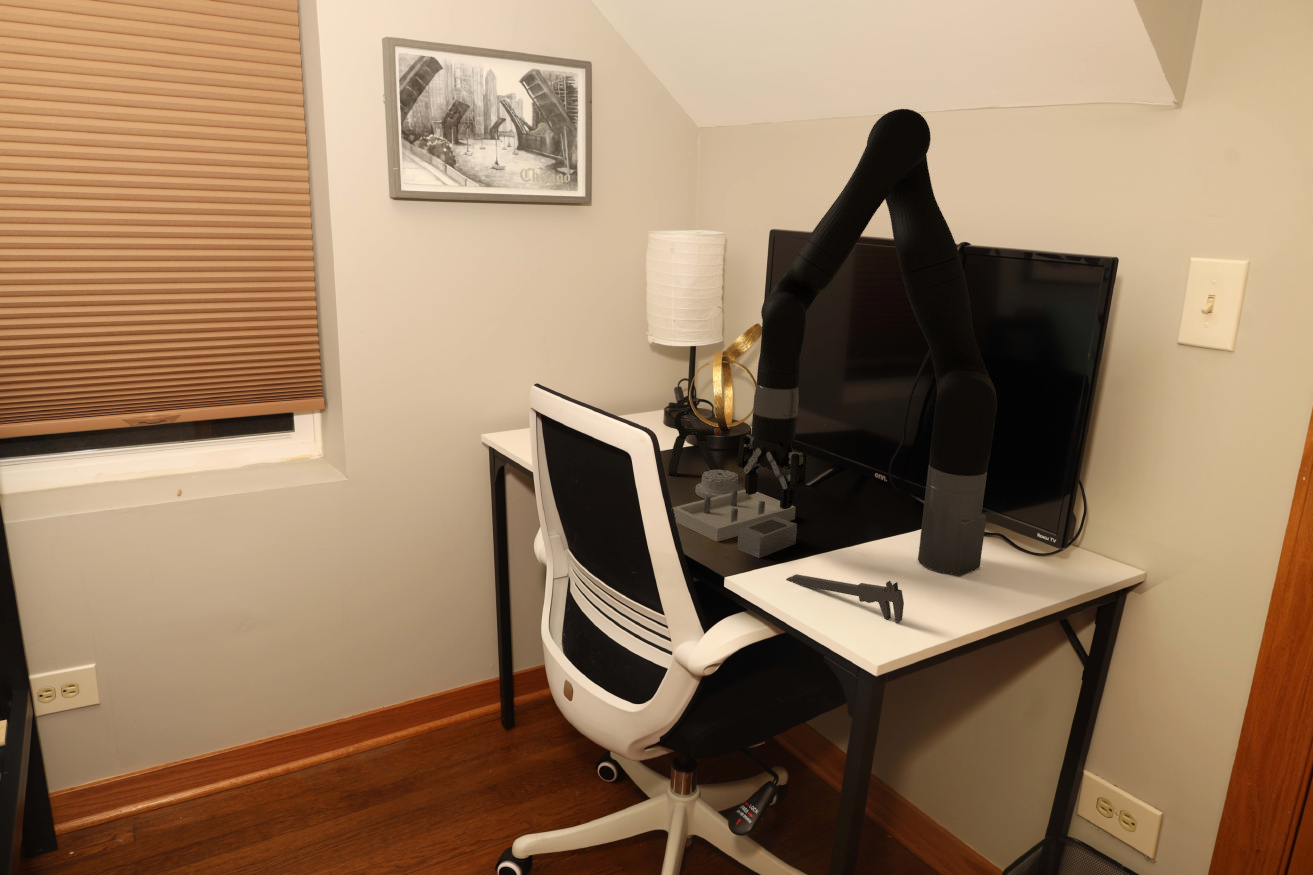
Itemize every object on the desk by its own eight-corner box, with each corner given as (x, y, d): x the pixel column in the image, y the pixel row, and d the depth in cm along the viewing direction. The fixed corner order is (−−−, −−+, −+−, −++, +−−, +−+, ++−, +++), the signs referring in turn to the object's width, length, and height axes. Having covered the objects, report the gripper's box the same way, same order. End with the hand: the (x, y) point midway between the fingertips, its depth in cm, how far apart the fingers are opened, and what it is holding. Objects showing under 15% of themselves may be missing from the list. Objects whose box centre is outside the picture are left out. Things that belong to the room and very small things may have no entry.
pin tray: (794, 519, 167) (796, 499, 166) (717, 541, 155) (718, 520, 154) (747, 500, 177) (748, 481, 176) (671, 520, 165) (672, 500, 164)
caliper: (901, 623, 128) (906, 584, 126) (898, 626, 127) (902, 586, 125) (789, 579, 141) (792, 543, 140) (785, 581, 141) (788, 545, 139)
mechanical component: (703, 503, 175) (750, 500, 177) (704, 483, 174) (751, 480, 176) (689, 488, 184) (734, 485, 187) (690, 468, 183) (735, 465, 185)
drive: (795, 544, 155) (797, 523, 154) (759, 559, 149) (760, 537, 148) (773, 536, 159) (775, 515, 158) (737, 550, 152) (738, 528, 151)
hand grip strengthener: (723, 481, 189) (726, 414, 184) (667, 476, 191) (668, 409, 187) (725, 477, 191) (728, 411, 187) (669, 473, 193) (670, 407, 189)
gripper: (821, 417, 144) (812, 509, 149) (761, 399, 155) (755, 485, 160) (790, 423, 140) (781, 517, 144) (730, 404, 151) (724, 492, 155)
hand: (767, 500), depth 152 cm, fingers open, 8 cm apart
